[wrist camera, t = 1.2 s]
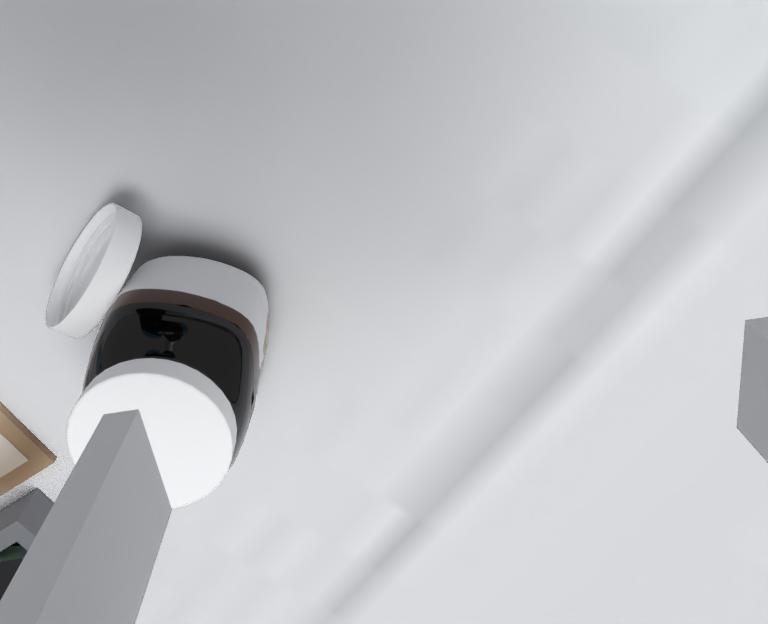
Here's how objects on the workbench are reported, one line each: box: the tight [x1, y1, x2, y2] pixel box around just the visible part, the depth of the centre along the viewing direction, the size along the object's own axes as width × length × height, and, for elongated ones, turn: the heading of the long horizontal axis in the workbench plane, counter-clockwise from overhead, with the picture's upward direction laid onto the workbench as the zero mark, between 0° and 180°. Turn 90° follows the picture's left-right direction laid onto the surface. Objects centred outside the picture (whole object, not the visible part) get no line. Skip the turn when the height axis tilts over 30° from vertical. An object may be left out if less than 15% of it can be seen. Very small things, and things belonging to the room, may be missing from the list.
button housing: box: [0, 488, 54, 551], centre depth 45 cm, size 7×7×3 cm
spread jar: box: [45, 203, 269, 509], centre depth 35 cm, size 12×11×12 cm
